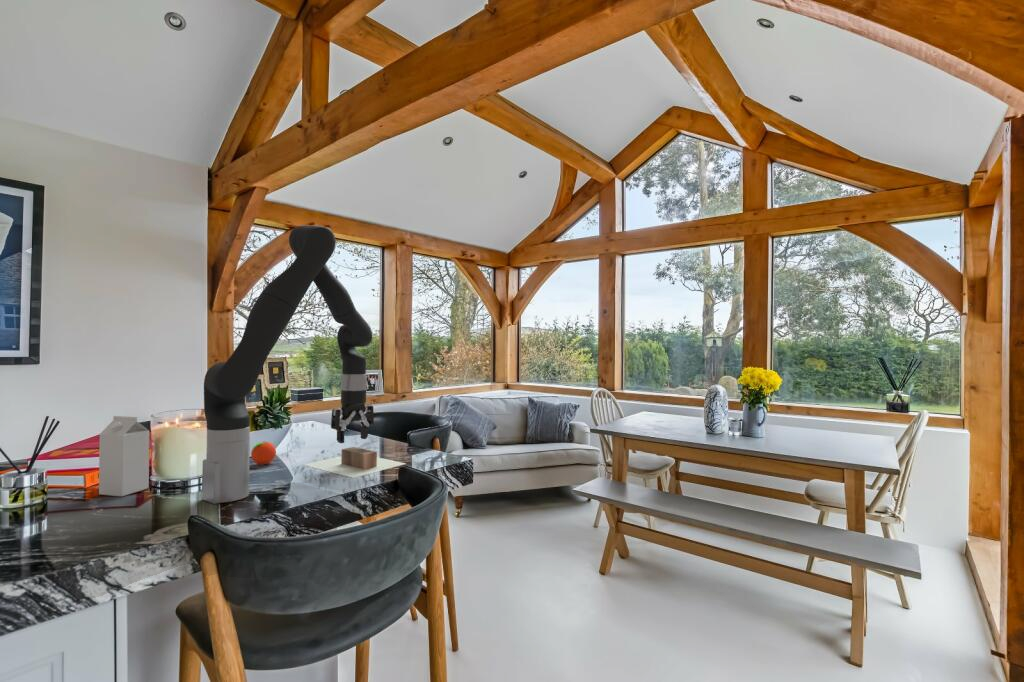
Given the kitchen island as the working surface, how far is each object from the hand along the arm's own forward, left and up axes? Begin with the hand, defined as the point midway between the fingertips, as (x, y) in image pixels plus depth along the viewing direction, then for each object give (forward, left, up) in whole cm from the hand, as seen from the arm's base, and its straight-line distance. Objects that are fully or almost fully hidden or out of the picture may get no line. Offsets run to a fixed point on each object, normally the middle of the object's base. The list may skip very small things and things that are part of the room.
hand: (352, 440), depth 154 cm
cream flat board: (0, -1, -8) cm, 8 cm away
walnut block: (0, +2, -5) cm, 5 cm away
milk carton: (-51, +24, -8) cm, 57 cm away
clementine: (-16, +23, -8) cm, 29 cm away
